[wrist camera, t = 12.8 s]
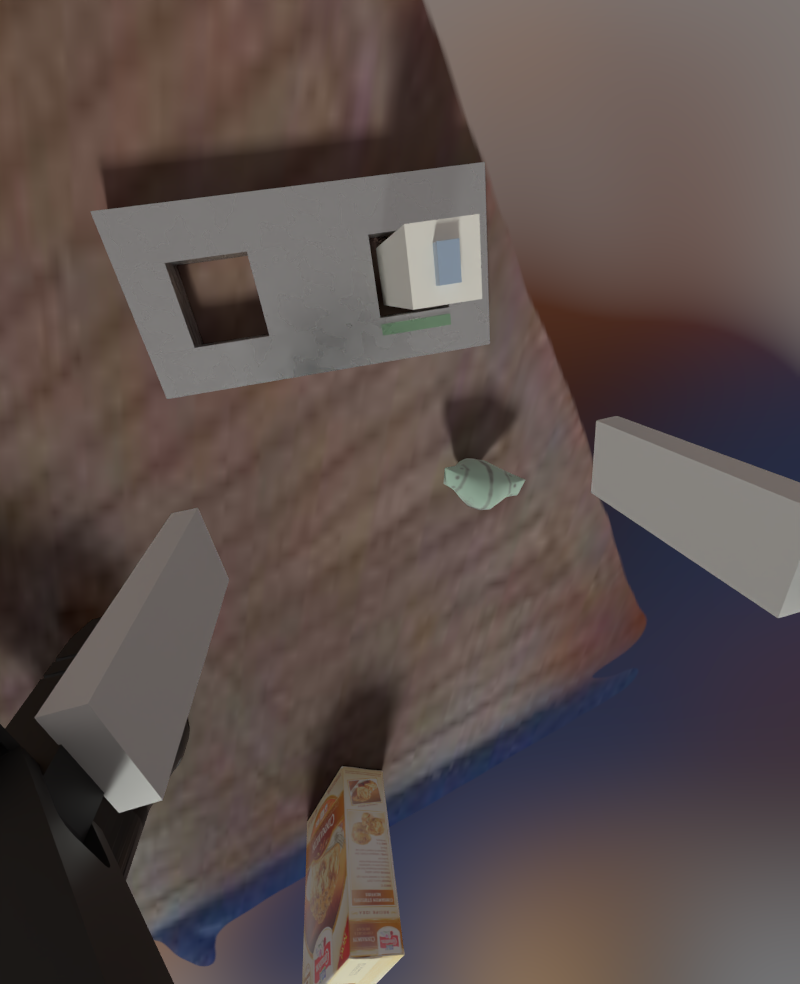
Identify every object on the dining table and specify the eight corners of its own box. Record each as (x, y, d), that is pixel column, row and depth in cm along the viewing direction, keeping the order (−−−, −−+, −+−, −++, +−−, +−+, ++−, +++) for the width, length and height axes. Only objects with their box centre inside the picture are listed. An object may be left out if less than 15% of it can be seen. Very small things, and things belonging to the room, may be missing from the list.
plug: (383, 305, 33) (416, 310, 21) (375, 248, 31) (407, 221, 20) (430, 297, 33) (487, 299, 22) (425, 241, 31) (484, 210, 20)
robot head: (507, 454, 41) (538, 482, 35) (494, 490, 42) (522, 522, 36) (433, 443, 39) (453, 469, 33) (423, 480, 40) (441, 513, 34)
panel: (177, 392, 33) (166, 399, 30) (109, 218, 27) (88, 210, 25) (479, 341, 35) (490, 344, 33) (472, 171, 30) (485, 161, 27)
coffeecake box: (340, 764, 59) (348, 959, 42) (384, 769, 61) (408, 955, 44) (304, 822, 64) (298, 1017, 46) (346, 824, 66) (354, 1010, 49)
